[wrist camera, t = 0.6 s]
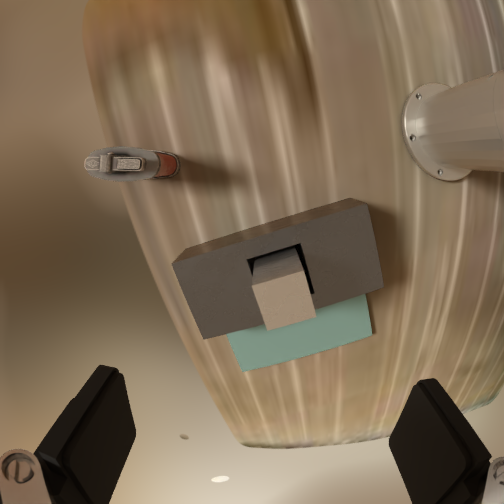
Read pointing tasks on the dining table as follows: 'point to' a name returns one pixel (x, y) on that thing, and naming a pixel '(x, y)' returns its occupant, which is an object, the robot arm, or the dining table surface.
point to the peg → (281, 288)
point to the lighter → (131, 164)
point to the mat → (302, 335)
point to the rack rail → (271, 239)
